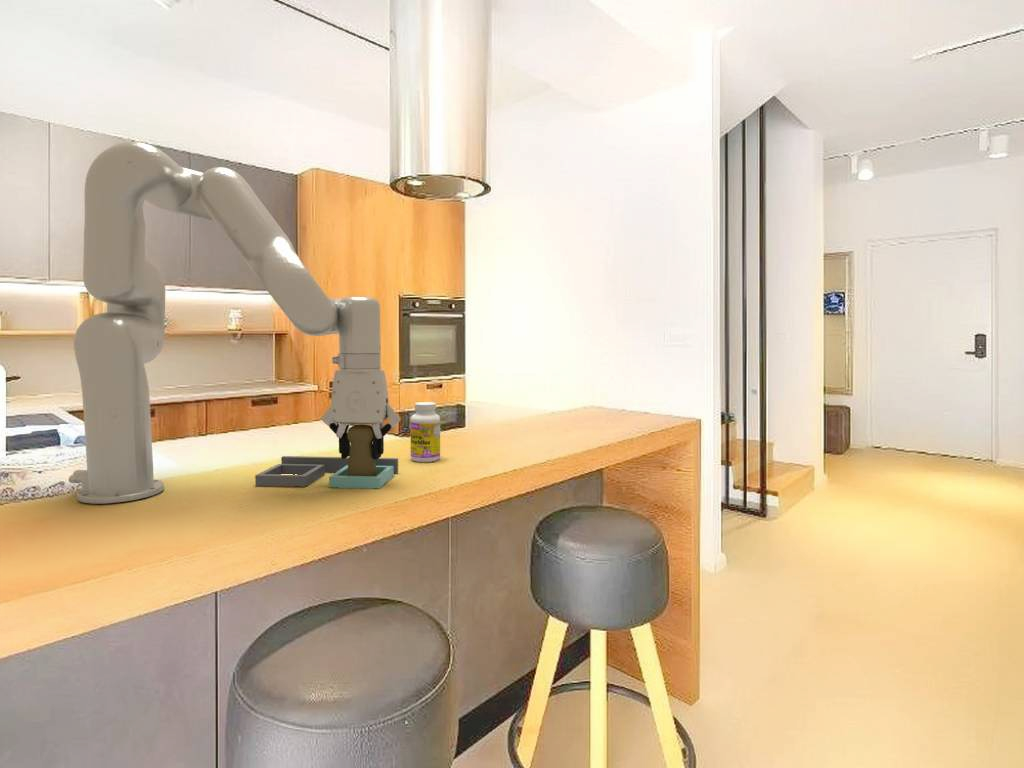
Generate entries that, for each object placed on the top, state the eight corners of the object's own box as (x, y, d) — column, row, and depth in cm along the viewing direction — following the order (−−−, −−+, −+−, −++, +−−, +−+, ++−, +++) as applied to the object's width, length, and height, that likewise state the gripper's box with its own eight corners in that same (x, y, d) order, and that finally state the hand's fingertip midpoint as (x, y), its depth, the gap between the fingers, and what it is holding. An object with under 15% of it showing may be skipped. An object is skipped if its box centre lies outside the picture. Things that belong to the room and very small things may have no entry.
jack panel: (254, 485, 107) (253, 470, 107) (283, 470, 119) (283, 456, 119) (381, 488, 106) (381, 472, 105) (398, 472, 118) (398, 458, 118)
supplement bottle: (404, 461, 128) (404, 404, 127) (420, 455, 134) (419, 400, 133) (431, 464, 126) (430, 405, 125) (445, 458, 132) (445, 402, 131)
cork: (369, 487, 107) (368, 428, 106) (339, 484, 108) (338, 427, 107) (383, 478, 113) (382, 423, 112) (355, 476, 114) (354, 422, 113)
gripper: (307, 363, 105) (309, 460, 107) (400, 364, 104) (400, 463, 106) (323, 361, 113) (325, 452, 114) (409, 362, 112) (410, 454, 113)
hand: (361, 456), depth 110 cm, fingers open, 5 cm apart
